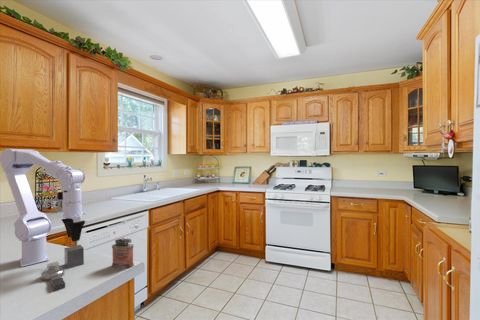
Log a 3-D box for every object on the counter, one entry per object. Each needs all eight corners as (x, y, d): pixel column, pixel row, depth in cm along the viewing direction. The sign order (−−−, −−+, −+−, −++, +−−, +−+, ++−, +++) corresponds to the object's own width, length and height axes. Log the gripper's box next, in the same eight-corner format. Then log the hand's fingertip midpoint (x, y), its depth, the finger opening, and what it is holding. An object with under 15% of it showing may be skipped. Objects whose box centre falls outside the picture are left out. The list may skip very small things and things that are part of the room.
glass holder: (73, 210, 190) (73, 191, 190) (55, 214, 176) (55, 194, 176) (64, 210, 192) (64, 191, 192) (46, 214, 178) (46, 193, 178)
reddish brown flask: (109, 267, 86) (109, 239, 86) (116, 263, 89) (115, 236, 89) (130, 268, 84) (129, 240, 84) (135, 264, 88) (135, 237, 88)
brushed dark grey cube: (64, 264, 89) (64, 248, 89) (80, 260, 92) (80, 244, 92) (67, 268, 85) (67, 251, 85) (83, 264, 89) (83, 247, 89)
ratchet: (40, 276, 80) (40, 264, 80) (62, 270, 84) (62, 258, 84) (46, 293, 69) (46, 279, 69) (71, 285, 73) (71, 272, 73)
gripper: (89, 202, 86) (91, 240, 86) (80, 198, 97) (81, 232, 97) (66, 205, 81) (67, 245, 81) (59, 201, 92) (60, 236, 92)
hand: (73, 238), depth 89 cm, fingers open, 7 cm apart
